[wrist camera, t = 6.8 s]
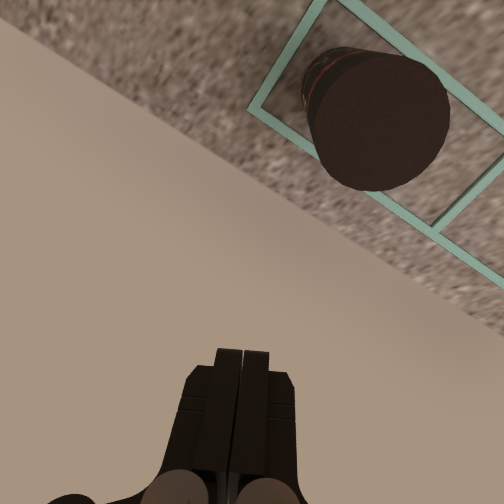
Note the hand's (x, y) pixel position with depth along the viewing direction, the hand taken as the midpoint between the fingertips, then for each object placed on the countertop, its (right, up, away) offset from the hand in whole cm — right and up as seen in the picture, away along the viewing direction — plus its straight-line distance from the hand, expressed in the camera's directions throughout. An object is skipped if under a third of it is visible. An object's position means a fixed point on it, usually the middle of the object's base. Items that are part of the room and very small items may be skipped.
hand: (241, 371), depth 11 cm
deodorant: (+7, +16, +19) cm, 26 cm away
